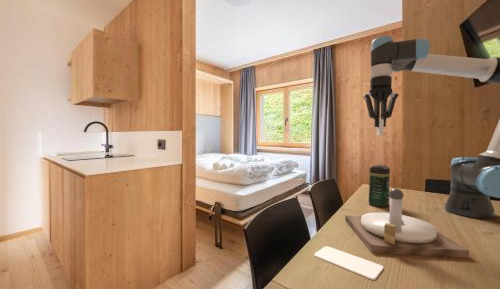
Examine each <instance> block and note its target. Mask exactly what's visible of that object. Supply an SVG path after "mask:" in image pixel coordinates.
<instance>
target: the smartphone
mask: <svg viewBox="0 0 500 289" xmlns="http://www.w3.org/2000/svg"><path fill="white" fill-rule="evenodd" d="M314 257H315V258H317V259H319V260H322V261H325V262H327V263H330V264H333V265H335V266H337V267H339V268H341V269H344V270H347V271H348V272H351V273H353V274H357V275H358V276H361V277H363V278H366V279H368V280H371V281H375V280H377V278H378V277H379V276H380V274H381V273H382V272H383V270H384V266H383V265H381V264H379V263H377V262H373V261H371V260H367V259H364V258H362V257H360V256H356V255H354V254H351V253H348V252H345V251H342V250H340V249H336V248H334V247H331V246H323V247H322V248H321V249H319V250H318V251H316V252H314Z"/></svg>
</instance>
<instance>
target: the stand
mask: <svg viewBox="0 0 500 289" xmlns="http://www.w3.org/2000/svg"><path fill="white" fill-rule="evenodd" d="M361 216H362V215H345V218H344V219H345V222H346V223H347V225H348V226H349V227H350V228H351V229H352V230H353V232H354V233H355V234H356V236H357V237H358V238H359V239H360V240H361V241H362V243H363V244H364V245H365V247H366V248H367V249H368V251H369V252H371V253H372V254H373V253H376V254H377V253H378V254H389V255H390V254H394V255H408V256H409V255H411V256H426V257H443V258H444V257H445V258H446V257H447V258H458V259H459V258H462V259H463V258H465V259H469V258H470V250H469V249H467V248H466V247H464V246H462V245H460V244H459V243H457V242H456V241H454V240H452V239H450V238H449V237H447V236H445V235H443V234H442V233H440V232H438V231H437V235H436V240H435V241H433V242H429V243H407V242H400V241H395V226H396V225H393V224H388V223H385V228H384V238H383V237H380V236H378V235H375V234H373V233H371V232H369V231H367V230H365V229H364V228H363V227H362V225H361Z"/></svg>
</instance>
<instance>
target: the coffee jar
mask: <svg viewBox="0 0 500 289" xmlns="http://www.w3.org/2000/svg"><path fill="white" fill-rule="evenodd" d="M368 174H369V183H368V184H369V187H368V205H372V206H373V207H383V208H385V207H388V206H389V205H390V197H389V191H390V176H391V168H390V167H389V166H387V165H384V164H377V165H373V166H371V167H369V172H368Z"/></svg>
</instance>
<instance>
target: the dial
mask: <svg viewBox="0 0 500 289" xmlns="http://www.w3.org/2000/svg"><path fill="white" fill-rule="evenodd" d="M403 200H404V193H403V191H402V190H401V189H399V188H396V187H395V188H392V189H389V212H377V211H375V212H367V213H364V214H362V215H360V216H361V225H362V227H363V228H364V229H365V230H367V231H369V232H371V233H373V234H375V235H378V236H380V237H383V238H384V228H385V223H388V224H393V225H396V226H395V241H400V242H407V243H429V242H433V241H435V240H436V235H437V232H438V231H437V228H436V227H435V226H434V225H432V224H431V223H429V222H427V221H424V220H423V219H419V218H417V217H413V216H408V215H404V214H403Z"/></svg>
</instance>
